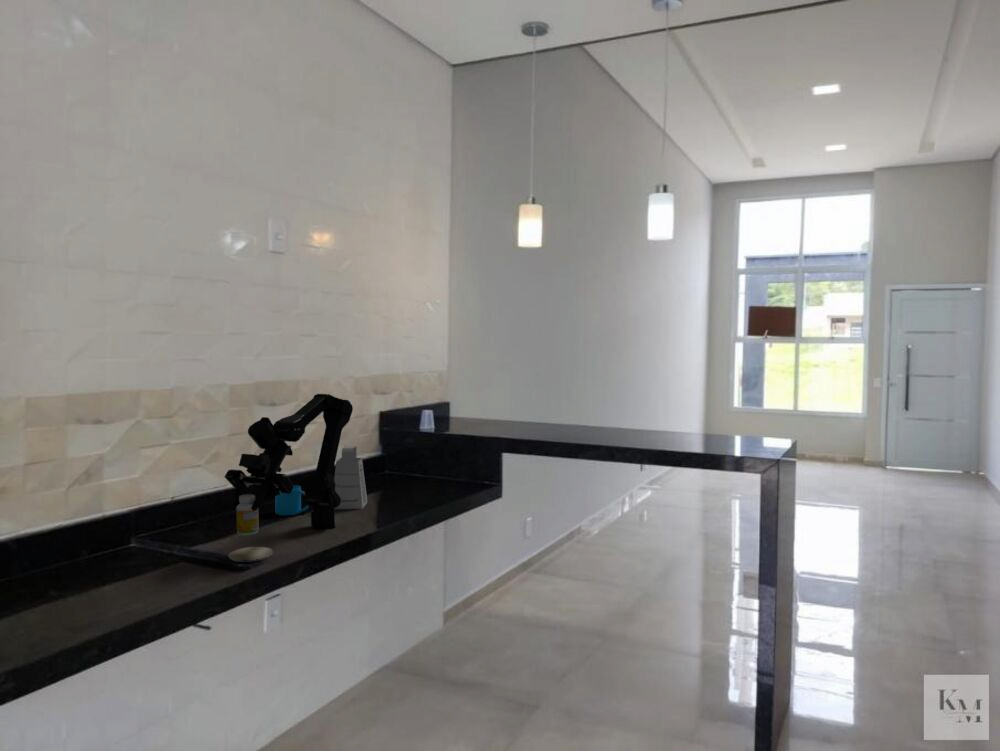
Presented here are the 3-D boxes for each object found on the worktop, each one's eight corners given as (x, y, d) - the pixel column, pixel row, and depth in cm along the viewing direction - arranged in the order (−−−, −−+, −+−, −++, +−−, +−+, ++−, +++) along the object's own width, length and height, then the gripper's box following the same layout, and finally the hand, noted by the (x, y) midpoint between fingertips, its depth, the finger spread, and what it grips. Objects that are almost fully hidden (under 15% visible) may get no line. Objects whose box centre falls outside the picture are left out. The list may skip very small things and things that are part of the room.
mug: (270, 514, 235) (270, 489, 234) (283, 509, 243) (282, 484, 242) (304, 516, 232) (304, 491, 232) (316, 510, 240) (316, 486, 240)
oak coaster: (274, 549, 196) (274, 545, 195) (270, 561, 185) (270, 557, 185) (231, 551, 193) (231, 548, 193) (225, 564, 182) (225, 560, 182)
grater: (367, 501, 254) (367, 444, 253) (362, 508, 243) (362, 449, 242) (337, 502, 253) (336, 444, 252) (331, 509, 243) (330, 449, 242)
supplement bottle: (236, 531, 190) (235, 494, 190) (257, 529, 193) (257, 492, 192) (237, 536, 186) (237, 499, 185) (259, 534, 188) (259, 497, 187)
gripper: (228, 439, 195) (198, 488, 185) (285, 443, 188) (257, 494, 178) (249, 463, 203) (221, 511, 193) (305, 468, 196) (279, 518, 186)
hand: (243, 508), depth 188 cm, fingers closed on supplement bottle, 5 cm apart
